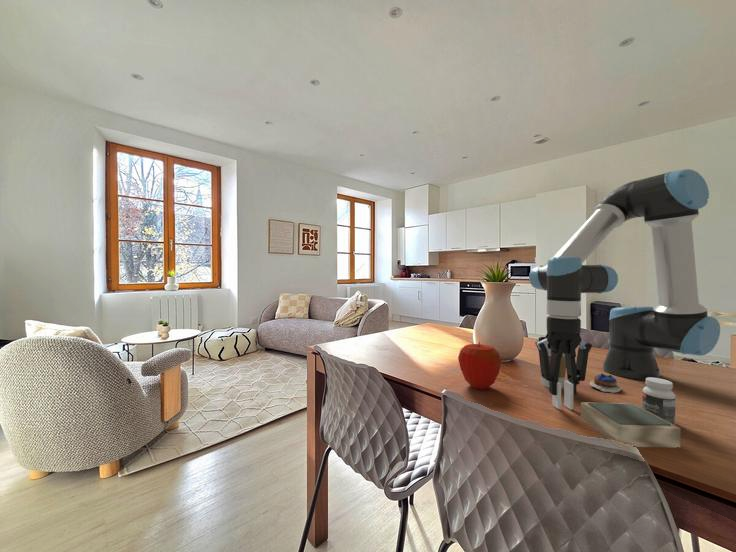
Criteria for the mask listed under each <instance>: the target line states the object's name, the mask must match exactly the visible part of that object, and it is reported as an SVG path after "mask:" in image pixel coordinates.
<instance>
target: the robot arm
mask: <svg viewBox="0 0 736 552" xmlns="http://www.w3.org/2000/svg"><path fill="white" fill-rule="evenodd" d="M709 192H710V191H709V186H708V184H707V182H706V180H705V178H704V177H703V175H701V174H700V173H699V172H698V171H696V170H694V169H690V168H688V169H687V168H685V169H679V170H674V171H673V170H672V171H667V172H664V173H662V174H658V175H654V176H650V177H647V178H642V179H637V180H632V181H630V182H627V183H625V184H623V185H621V186H619V187H617V188H616V189H614V190H612V191H611V192H610V193H608V195H606V196H605V197H604V198H603V199H601V201H599V202H598V204H597V205H596V206H595V207H594V208H593V209H592V211H591V216H590V217H589V218H588V219H587V220H586V221H585V222H584V223H583V224H582V225H581V226H580V227H579V228H578V229H577V230H576V232H574V234H573V235H572V236H571V237H570V238H569V239H568V240H567V241H566V242H565V243H564V244H563V246H562V247H561V248H560V249H559V250H558V251H557V252H556V253H555V254H554V255H553V256H552V257H551V258H549V259H548V260H547V263H546V264H545V265H537V266H534V267H533V268H532V269H531V270H530V272H529V276H528V277H529V278H528V279H529V283H530V285H531V286H532V287H533V288H535V289H537V290H540V291H541V290H543V291H546V314H547V315H548V316H547V317H546V335H545V336H544V337H545V339H544V340H542V341H538V340H536V341H535V346H536V348H537V351H538V358H539V368H541V369H540V376H542V377H543V378H544V379H546V380H548V381H549V388H548V389H549V393H550V394H551V395H552V396H551V397H552V401H551V405H552V406H553V407H554V408H556V409H557V410H562V389H561V384H560V383H559V382H558V379H559V371H560V363H561V357H562V356H563V353H564V355H565V361H566V376H567V377H566V378H567V380H565V381H564V388H563V392H564V393H563V396H564V397H563V404H564V405H563V406H564V407H566V408H567V409H569V410H571V411H572V410H574V396H576V395H577V386H578V385H580V382H585V380H586V374H587V366H588V360H589V353H590V352H591V349H592V348H593V344H592V343H589V342H587V341H585V340H583V339H582V336H581V331H582V330H581V329H582V321H581V319H580V318H581V316H582V294H602V293H608V292H611V291H613V290H614V289H615V288H616V287H617V285H618V282H619V275H618V273H617V271H616V270H615V269H614V268H613V267H611V266H609V265H602V264H583V263H584V262H585V261H586V260H587V259H588V258H589V257H590V255H592V253H593V252H594V251H595V250H596V249H597V248H598V247H599V245H600V244H602V243H603V241H604V240H605V239H606V238H607V237H608V236H609V235H610V234H611V232H612V231H613V230H614V229H616V228H619V227H621V226H622V225H624V223H625V222H627V221H629V220H631V219H635V218H642V217H643V221H644V224H646V225H648V226H650V228H651V232H652V243H653V244H652V245H653V253H654V255H653V257H654V265H655V275H656V286H657V288H656V289H657V296H658V304H656V305H655V306H654V307H653V306H626V307H625V306H624V307H623V306H621V307H619V306H618V307H614V308H613V307H612V308H611V309H610V312H609V317H608V318H609V319H608V320H609V325H608V326H609V332H608V333H609V341H608V342H609V349H608V351H607V353H606V356H605V358H604V361H602V363H603V364H602V370H603V371H604V372H606V373H608V374H610V375H612V376H613V375H614V376H618V377H622V378H625V379H632V380H640V381H646V378H648V377H652V378H660V379H661V370H660V368H659V366H658V363H657V360H656V357H655V354H654V349H660V350H664V351H670V352H675V353H679V354H683V355H691V356H699V357H702V356H706V355H707V354H709V353H711V352H712V351H713V350H714V348H716V345H717V344H718V341H719V340H720V335H721V325H720V323H719V320H718V319H717V318H715V317H713V316H708V309H707V307H705V306H704V305H702V304H700V302H699V292H698V291H699V290H698V279H697V267H696V257H695V247H694V246H695V245H694V234H693V233H694V232H693V222H694V220H695V219H696V218H697V217H699V210H700V209H702V208H704V207H705V206H707V204H708V199H709V198H710V193H709ZM548 344H549V346H550V347H551V361H550V366H549V357H548V351H547V348H548ZM577 347H578V348H577ZM576 351H577V353H576Z"/></svg>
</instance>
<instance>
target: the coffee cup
mask: <svg viewBox="0 0 736 552" xmlns="http://www.w3.org/2000/svg"><path fill="white" fill-rule="evenodd" d="M544 339H545V336H540V337H538V340H537V341H542V340H544ZM547 351H548V357H549V366H550V361H551V347H550V346H549V344H548V348H547ZM539 368H540V367H539ZM540 370H541V368H540ZM566 375H567V370H566V361H565V355H564V353H563V356H562V357H561V363H560V371H559V379H558V382H559V383H560V384H561V390H564V381H566ZM540 376H541V375H540ZM540 380H541V386H543V387H544V388H548V389H549V381H548V380H546V379H544V378H543V377H542V376H541V379H540Z"/></svg>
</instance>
